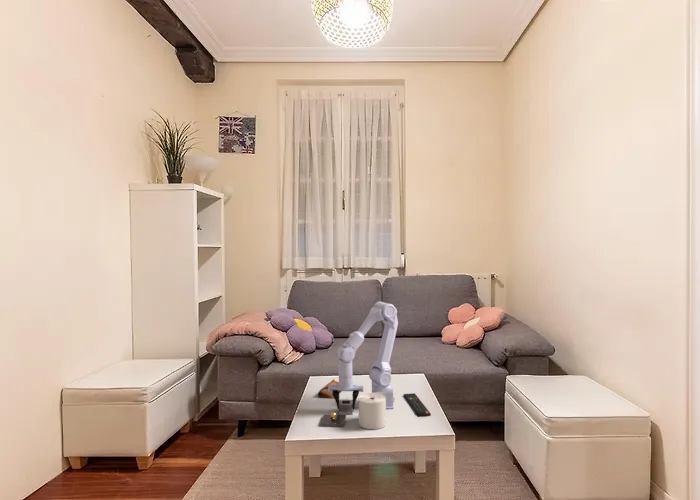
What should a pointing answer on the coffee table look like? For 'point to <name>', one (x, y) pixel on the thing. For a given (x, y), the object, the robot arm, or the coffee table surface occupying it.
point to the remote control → (417, 405)
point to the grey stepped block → (346, 407)
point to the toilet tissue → (372, 410)
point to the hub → (333, 420)
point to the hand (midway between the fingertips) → (346, 408)
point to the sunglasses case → (324, 391)
